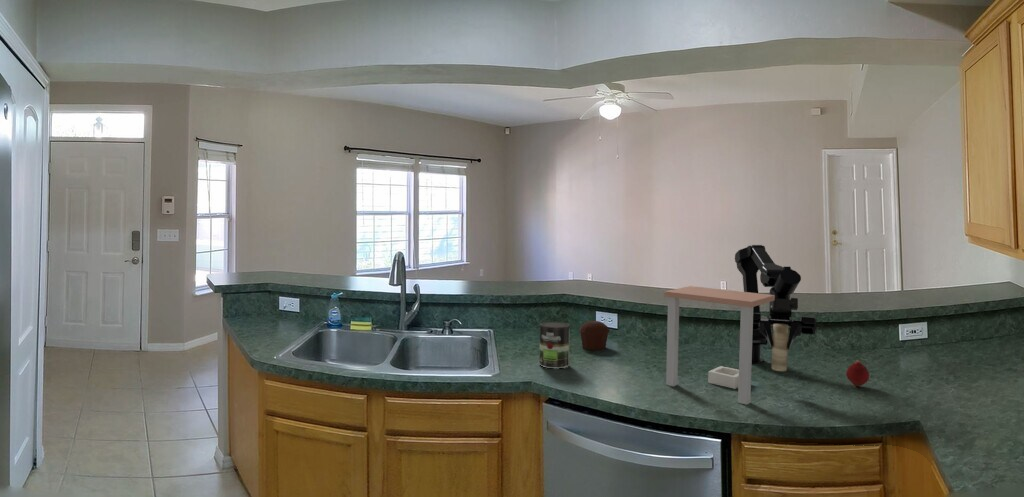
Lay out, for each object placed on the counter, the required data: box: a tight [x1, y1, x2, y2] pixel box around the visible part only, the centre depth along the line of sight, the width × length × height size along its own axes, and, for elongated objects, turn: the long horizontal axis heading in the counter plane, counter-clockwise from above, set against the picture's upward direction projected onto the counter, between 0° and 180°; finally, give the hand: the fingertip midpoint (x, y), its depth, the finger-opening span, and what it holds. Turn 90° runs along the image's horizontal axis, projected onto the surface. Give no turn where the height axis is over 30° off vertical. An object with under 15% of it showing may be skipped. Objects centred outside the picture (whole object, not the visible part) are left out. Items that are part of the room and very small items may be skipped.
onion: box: [846, 359, 870, 387], centre depth 170 cm, size 6×6×8 cm
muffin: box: [578, 320, 611, 352], centre depth 216 cm, size 12×11×10 cm
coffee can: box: [539, 321, 571, 369], centre depth 192 cm, size 10×10×14 cm
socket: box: [707, 365, 739, 390], centre depth 174 cm, size 8×8×4 cm
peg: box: [771, 323, 790, 372], centre depth 164 cm, size 4×4×13 cm
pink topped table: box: [663, 285, 775, 405], centre depth 167 cm, size 16×26×28 cm, turn 45°
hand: (780, 347), depth 163 cm, fingers closed on peg, 4 cm apart
